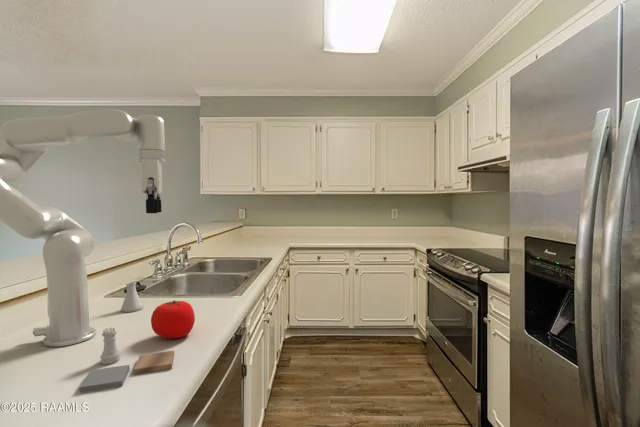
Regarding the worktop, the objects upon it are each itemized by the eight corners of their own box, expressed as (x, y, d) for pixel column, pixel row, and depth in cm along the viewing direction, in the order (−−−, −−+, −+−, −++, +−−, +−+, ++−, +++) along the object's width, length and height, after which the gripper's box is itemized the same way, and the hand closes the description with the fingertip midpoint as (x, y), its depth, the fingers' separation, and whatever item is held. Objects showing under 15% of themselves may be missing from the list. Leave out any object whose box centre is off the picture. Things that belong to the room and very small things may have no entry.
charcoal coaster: (79, 393, 75) (78, 387, 75) (90, 375, 82) (90, 370, 82) (122, 386, 77) (122, 380, 77) (129, 369, 85) (129, 364, 85)
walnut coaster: (134, 374, 82) (134, 369, 82) (140, 359, 90) (139, 355, 90) (171, 368, 85) (171, 363, 85) (174, 355, 92) (174, 350, 92)
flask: (134, 313, 128) (133, 285, 128) (116, 312, 129) (115, 285, 129) (147, 307, 135) (146, 280, 135) (130, 306, 137) (128, 280, 136)
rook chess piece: (123, 360, 90) (122, 328, 89) (103, 366, 86) (102, 334, 86) (117, 355, 93) (115, 325, 92) (97, 361, 89) (96, 329, 89)
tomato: (203, 331, 109) (202, 297, 109) (178, 346, 98) (177, 308, 98) (171, 327, 113) (169, 294, 112) (142, 342, 101) (141, 305, 101)
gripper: (142, 159, 117) (144, 212, 117) (133, 153, 100) (136, 214, 101) (167, 160, 119) (169, 211, 120) (162, 153, 103) (164, 213, 103)
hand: (154, 212), depth 110 cm, fingers open, 9 cm apart
